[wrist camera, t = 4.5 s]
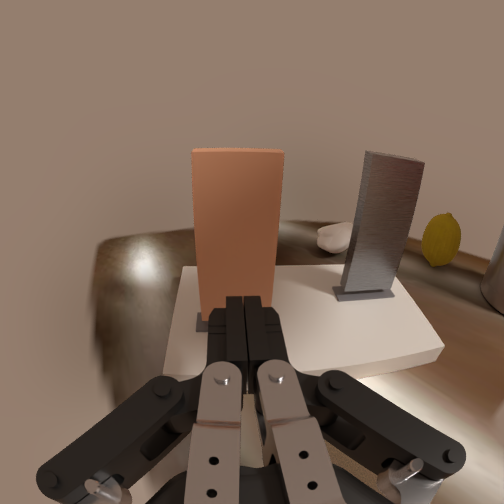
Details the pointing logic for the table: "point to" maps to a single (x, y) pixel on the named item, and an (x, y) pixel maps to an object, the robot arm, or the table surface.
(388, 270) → the grey paddle
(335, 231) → the dumpling
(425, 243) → the lemon
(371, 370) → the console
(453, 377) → the table surface
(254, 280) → the terracotta paddle
